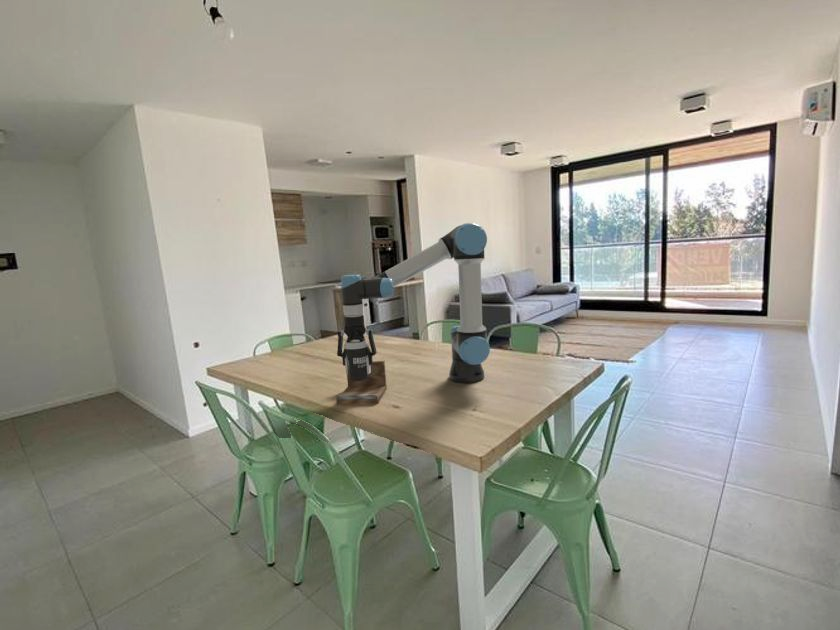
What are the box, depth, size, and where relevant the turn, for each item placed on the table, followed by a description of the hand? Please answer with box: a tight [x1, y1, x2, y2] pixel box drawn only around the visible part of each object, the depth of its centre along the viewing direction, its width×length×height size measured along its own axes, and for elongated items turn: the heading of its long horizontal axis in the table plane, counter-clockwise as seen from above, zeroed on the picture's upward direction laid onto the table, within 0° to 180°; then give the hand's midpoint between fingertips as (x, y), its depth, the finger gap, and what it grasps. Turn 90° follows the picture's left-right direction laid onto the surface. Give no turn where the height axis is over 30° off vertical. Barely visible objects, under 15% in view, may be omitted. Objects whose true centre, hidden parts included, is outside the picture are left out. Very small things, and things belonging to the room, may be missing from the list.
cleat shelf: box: [335, 360, 388, 405], centre depth 168 cm, size 16×17×12 cm
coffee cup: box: [343, 339, 370, 381], centre depth 164 cm, size 10×10×15 cm
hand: (358, 373), depth 165 cm, fingers closed on coffee cup, 8 cm apart
